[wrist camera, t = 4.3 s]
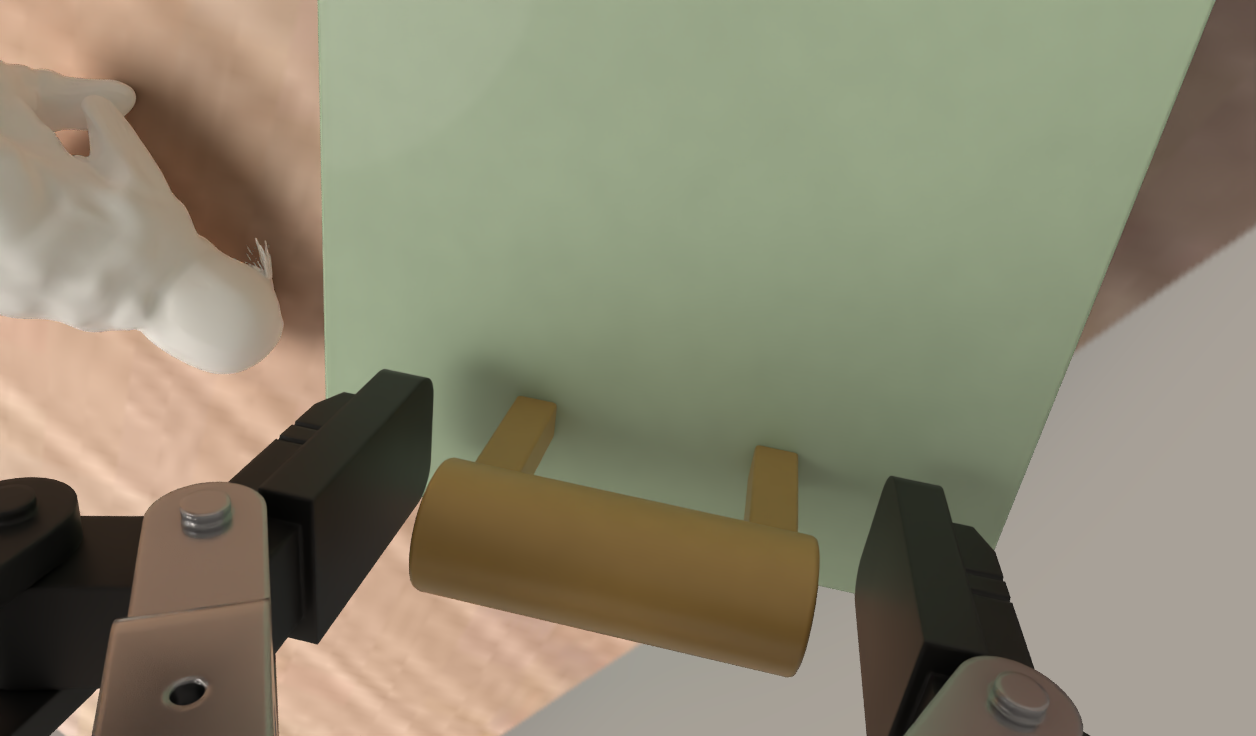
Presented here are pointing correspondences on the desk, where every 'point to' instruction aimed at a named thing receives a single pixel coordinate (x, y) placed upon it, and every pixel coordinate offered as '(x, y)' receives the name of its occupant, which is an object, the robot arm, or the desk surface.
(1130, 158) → the lid
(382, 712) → the desk surface
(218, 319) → the white lumpy piece
